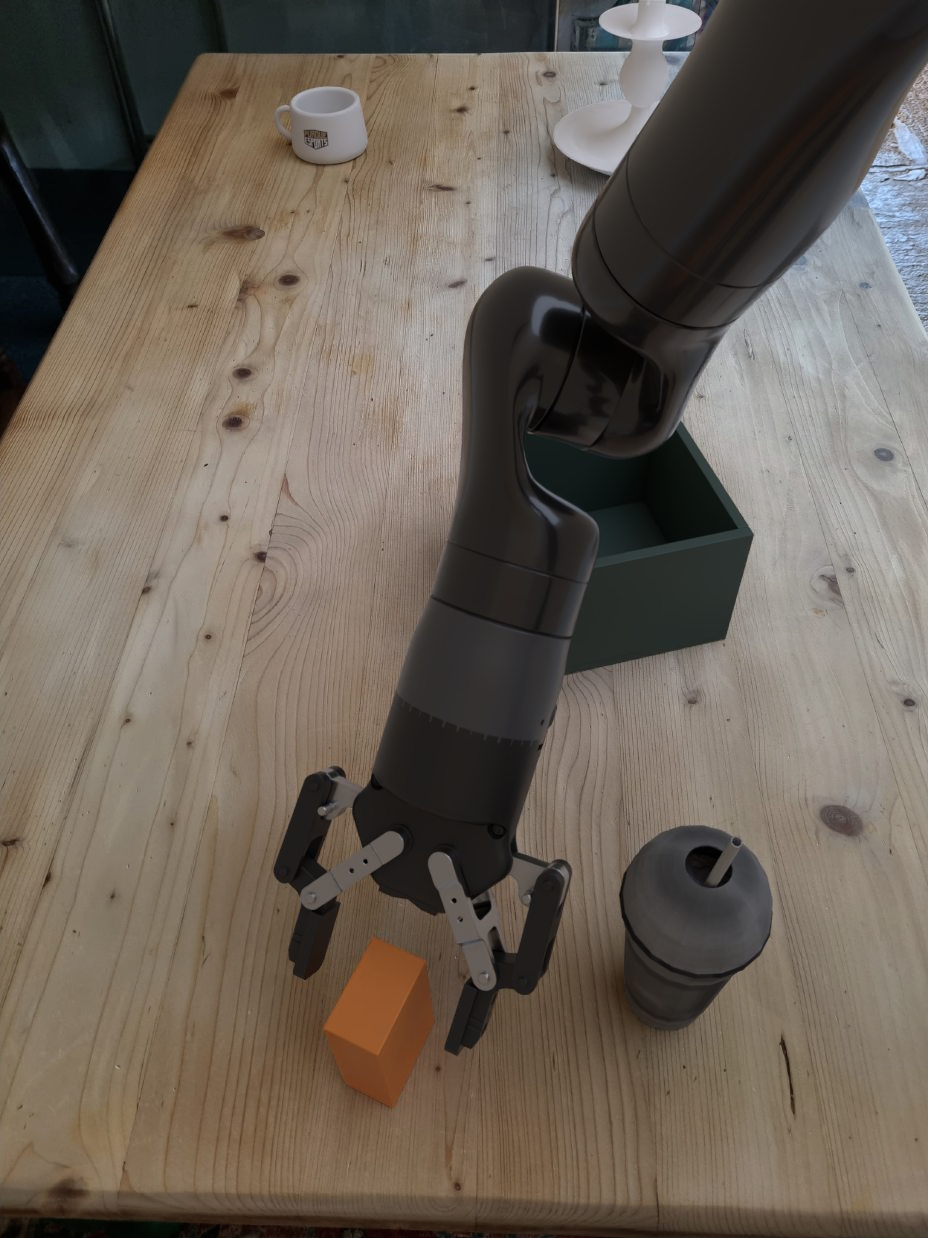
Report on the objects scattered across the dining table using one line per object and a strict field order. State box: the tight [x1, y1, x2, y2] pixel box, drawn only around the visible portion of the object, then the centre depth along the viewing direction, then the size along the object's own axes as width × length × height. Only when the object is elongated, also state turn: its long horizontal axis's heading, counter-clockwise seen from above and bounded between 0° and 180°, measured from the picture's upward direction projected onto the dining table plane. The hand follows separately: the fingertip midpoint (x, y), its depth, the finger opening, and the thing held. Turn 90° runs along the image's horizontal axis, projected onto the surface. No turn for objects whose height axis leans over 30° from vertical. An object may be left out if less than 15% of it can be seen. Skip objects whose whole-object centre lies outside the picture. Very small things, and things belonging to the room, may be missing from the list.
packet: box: [322, 936, 435, 1109], centre depth 51 cm, size 3×5×9 cm, turn 155°
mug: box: [273, 86, 369, 165], centre depth 124 cm, size 12×10×6 cm
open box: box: [524, 420, 755, 676], centre depth 73 cm, size 16×16×11 cm
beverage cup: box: [618, 824, 774, 1032], centre depth 49 cm, size 7×7×20 cm
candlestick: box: [552, 0, 703, 176], centre depth 111 cm, size 21×25×28 cm
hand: (379, 1009), depth 49 cm, fingers open, 8 cm apart
